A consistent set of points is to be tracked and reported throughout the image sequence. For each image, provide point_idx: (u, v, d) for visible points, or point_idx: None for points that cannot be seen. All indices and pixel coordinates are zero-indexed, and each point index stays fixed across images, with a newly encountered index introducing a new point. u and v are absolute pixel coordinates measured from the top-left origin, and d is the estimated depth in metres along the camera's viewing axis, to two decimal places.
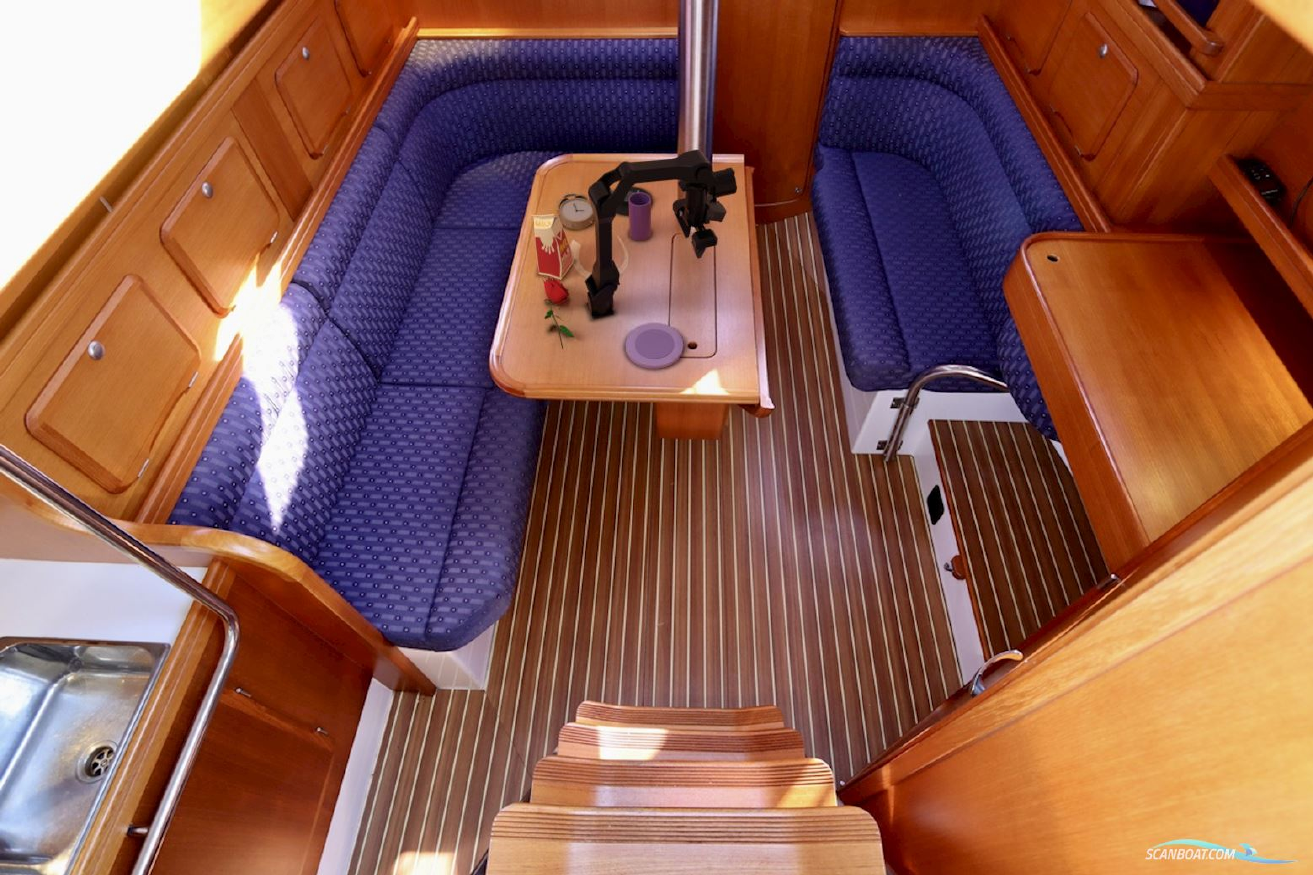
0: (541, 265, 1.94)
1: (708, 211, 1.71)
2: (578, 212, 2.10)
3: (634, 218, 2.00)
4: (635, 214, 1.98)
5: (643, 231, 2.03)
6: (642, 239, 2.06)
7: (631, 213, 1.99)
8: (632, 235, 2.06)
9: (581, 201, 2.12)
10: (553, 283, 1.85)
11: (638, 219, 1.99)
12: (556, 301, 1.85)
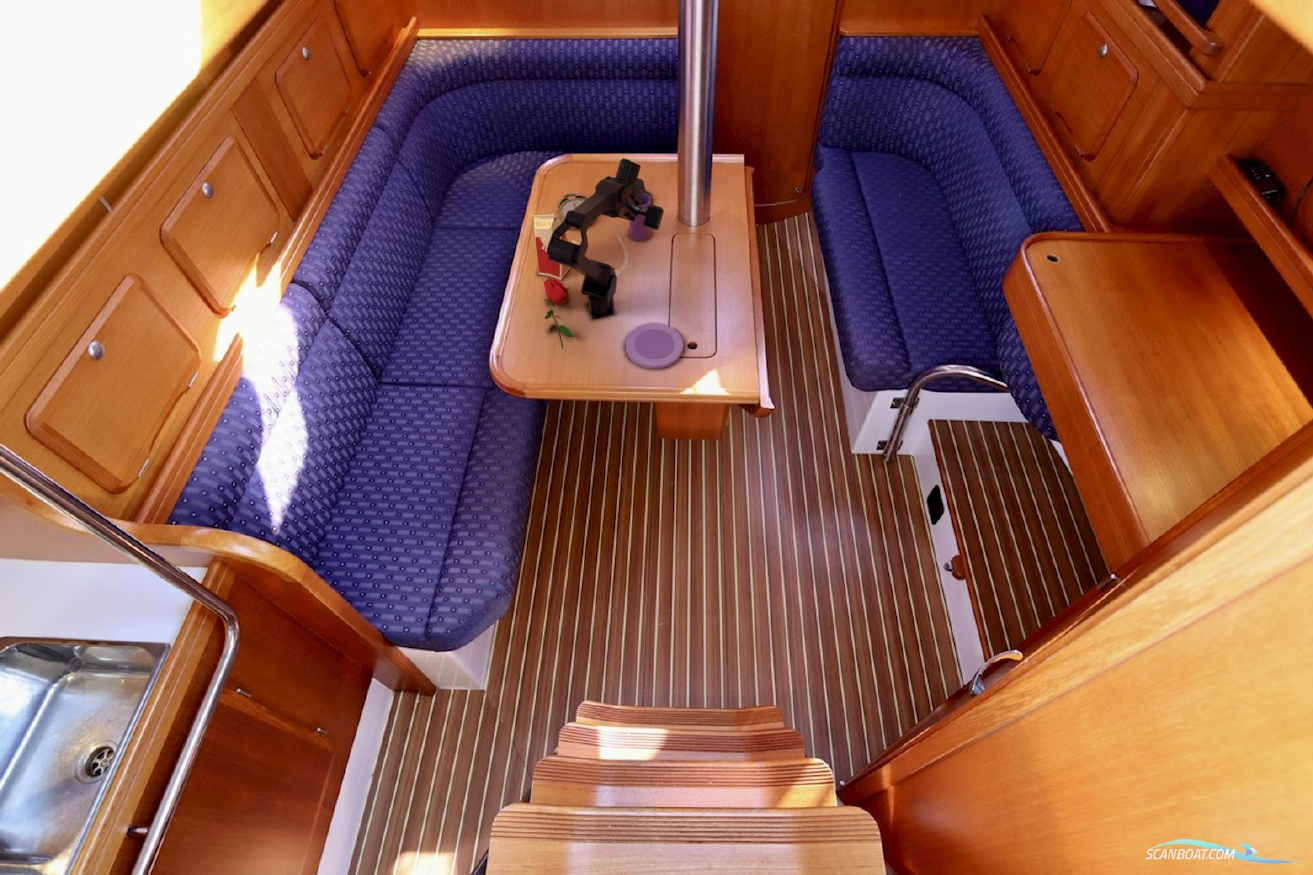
0: (541, 265, 1.94)
1: (636, 198, 1.79)
2: None
3: None
4: None
5: (643, 231, 2.03)
6: (642, 239, 2.06)
7: None
8: (632, 235, 2.06)
9: (581, 201, 2.12)
10: (553, 283, 1.85)
11: (638, 219, 1.99)
12: (556, 301, 1.85)
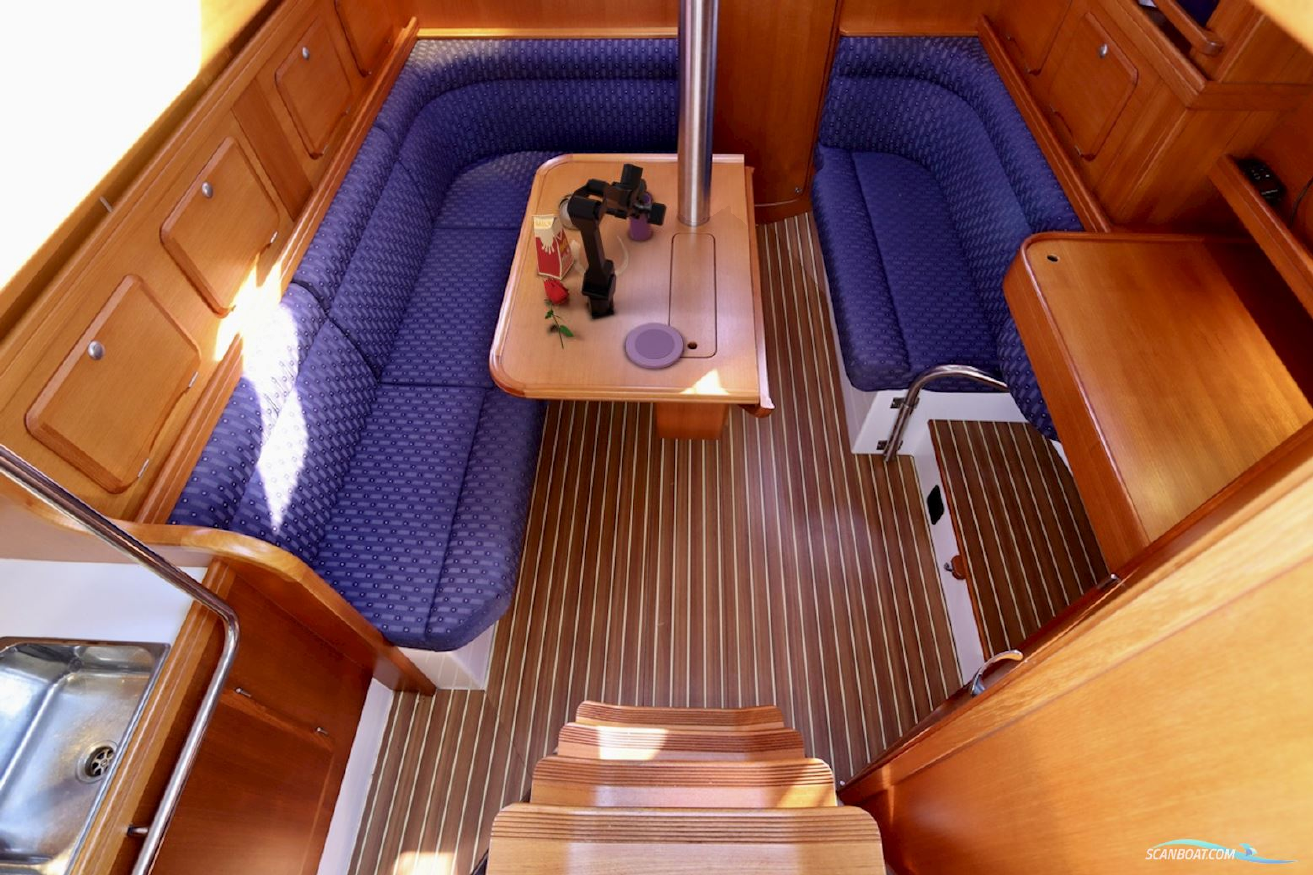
0: (541, 265, 1.94)
1: (640, 198, 1.90)
2: None
3: None
4: None
5: (643, 231, 2.03)
6: (642, 239, 2.06)
7: None
8: (632, 235, 2.06)
9: None
10: (553, 283, 1.85)
11: None
12: (556, 301, 1.85)
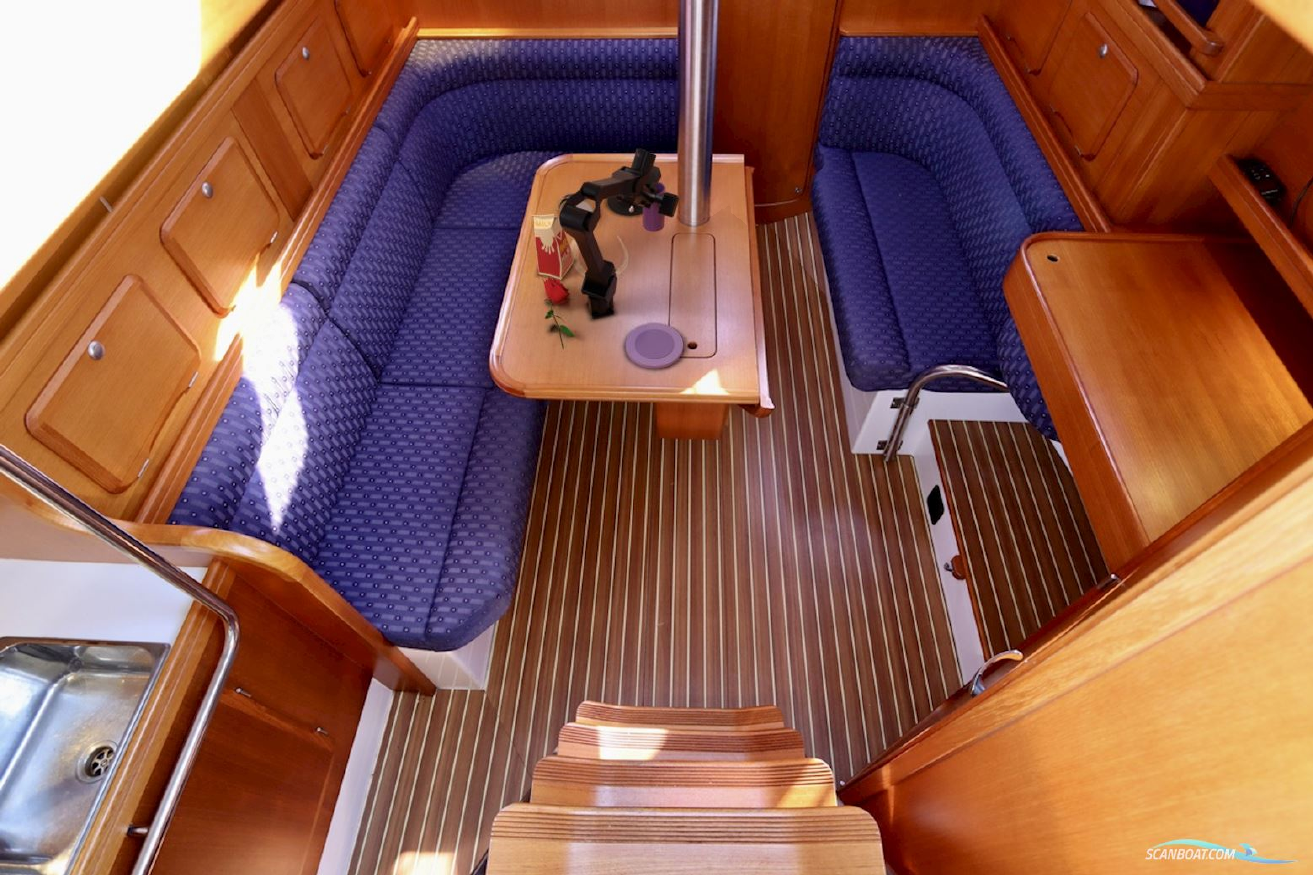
0: (541, 265, 1.94)
1: (652, 186, 1.83)
2: None
3: None
4: None
5: (655, 222, 1.97)
6: (654, 230, 2.00)
7: None
8: (644, 225, 2.00)
9: None
10: (553, 283, 1.85)
11: (650, 208, 1.93)
12: (556, 301, 1.85)
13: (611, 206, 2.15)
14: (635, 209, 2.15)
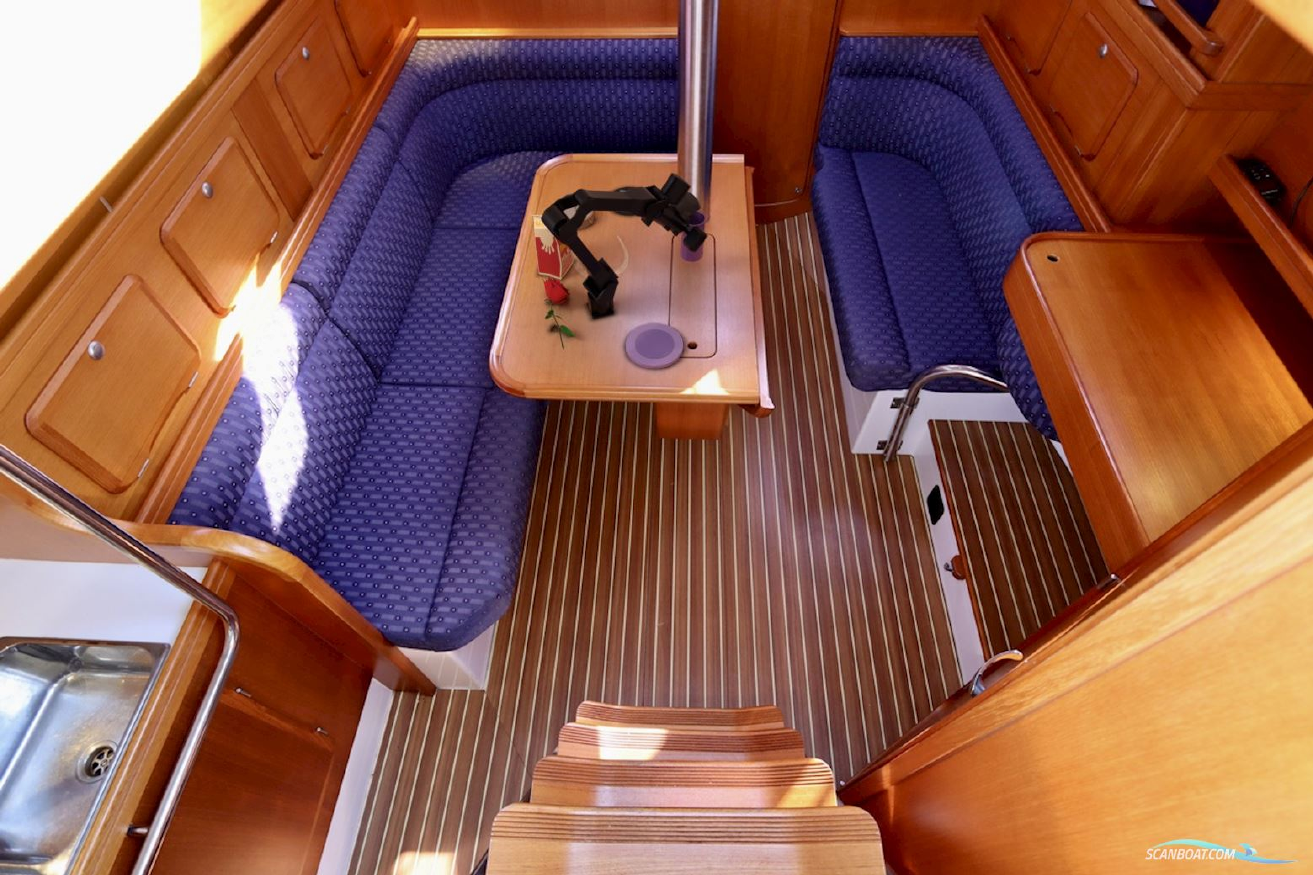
0: (541, 265, 1.94)
1: (681, 215, 1.76)
2: None
3: (682, 234, 1.86)
4: (683, 231, 1.85)
5: (688, 252, 1.90)
6: (686, 259, 1.92)
7: None
8: (680, 251, 1.93)
9: None
10: (553, 283, 1.85)
11: (684, 236, 1.86)
12: (556, 301, 1.85)
13: None
14: None
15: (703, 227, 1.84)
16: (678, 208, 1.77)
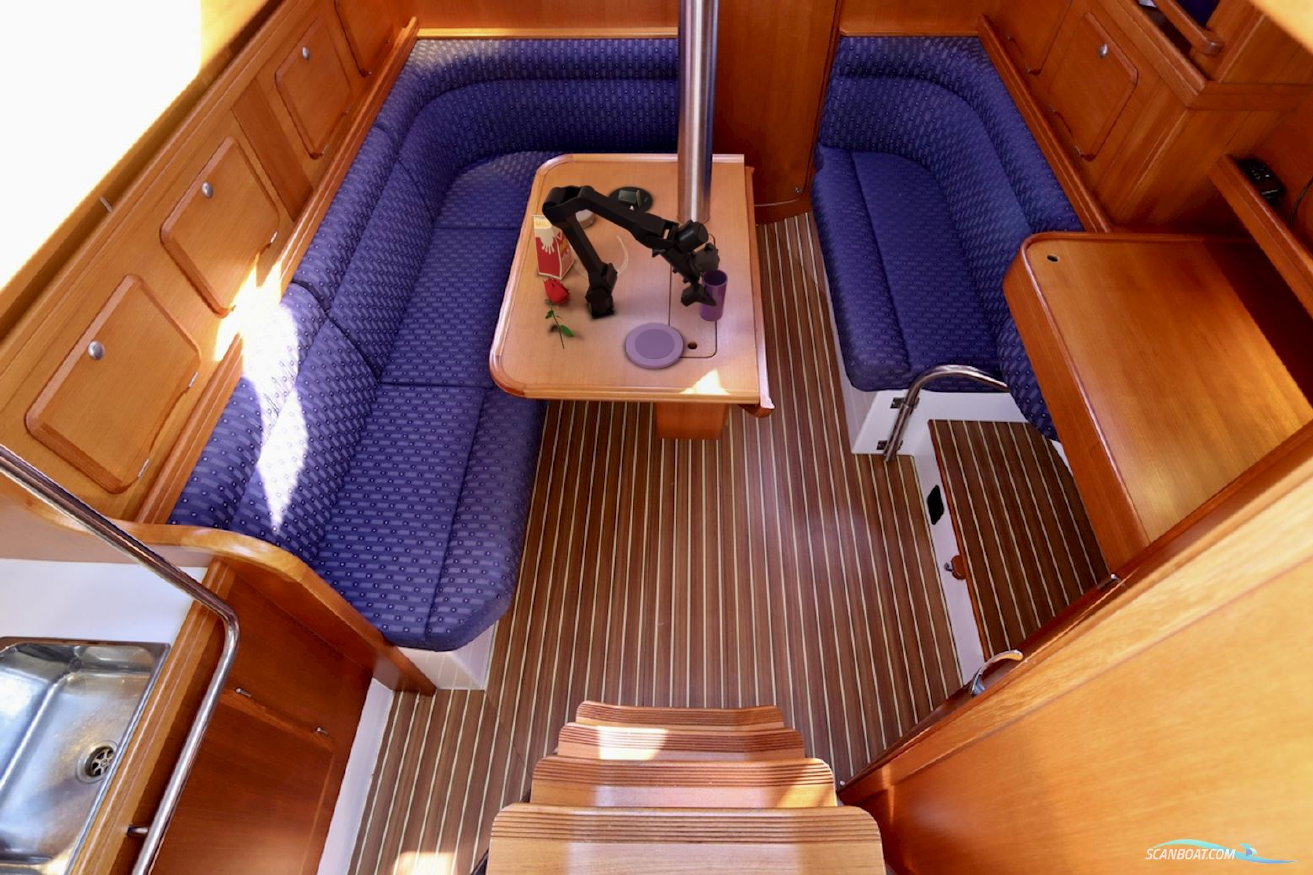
0: (541, 265, 1.94)
1: (691, 266, 1.65)
2: (578, 212, 2.10)
3: None
4: None
5: (700, 307, 1.77)
6: (699, 314, 1.80)
7: None
8: None
9: None
10: (553, 283, 1.85)
11: None
12: (556, 301, 1.85)
13: None
14: (635, 209, 2.15)
15: (716, 291, 1.69)
16: (695, 258, 1.66)
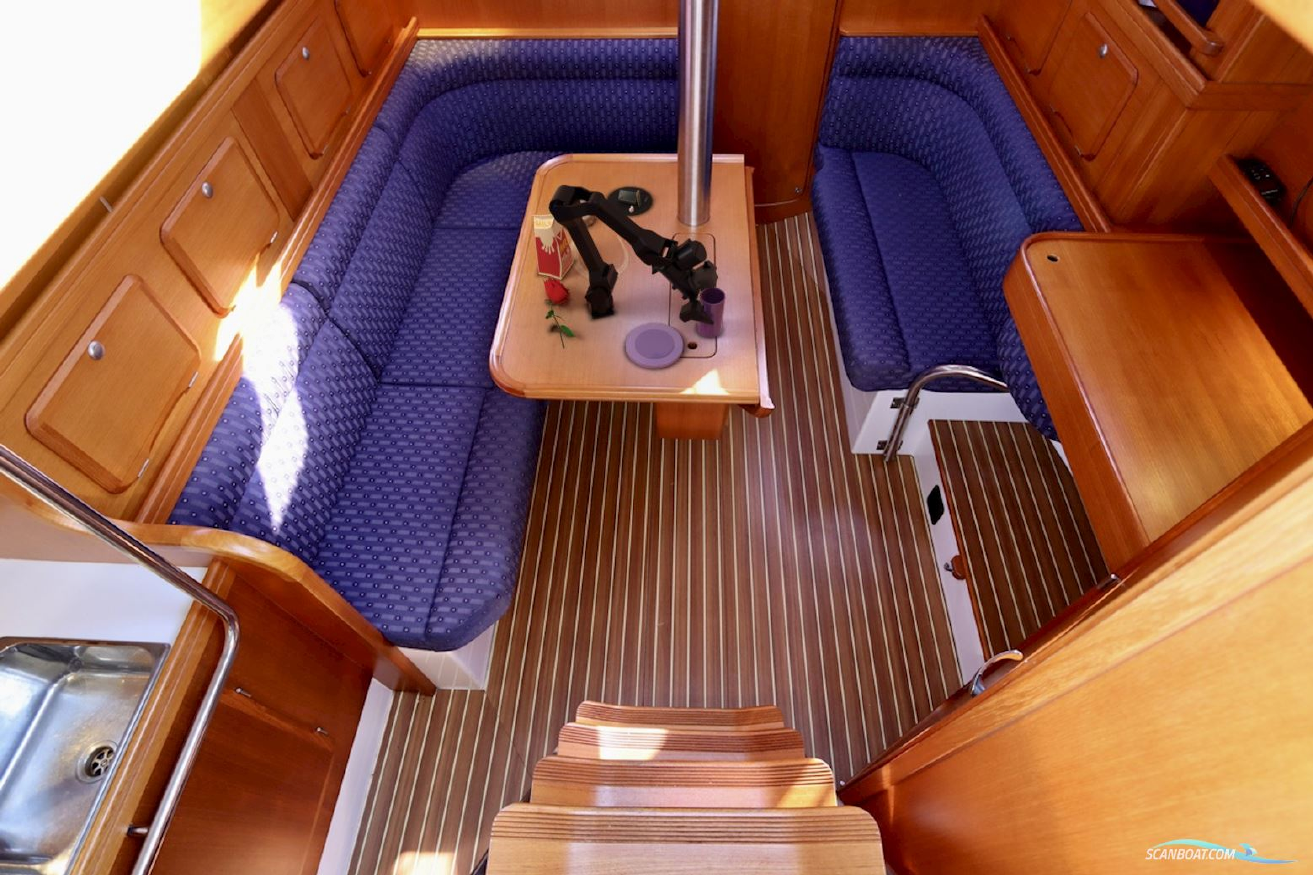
0: (541, 265, 1.94)
1: (690, 283, 1.69)
2: None
3: None
4: None
5: (699, 323, 1.81)
6: (698, 330, 1.84)
7: None
8: None
9: (581, 201, 2.12)
10: (553, 283, 1.85)
11: None
12: (557, 301, 1.85)
13: None
14: (635, 209, 2.15)
15: (714, 309, 1.74)
16: (694, 275, 1.70)
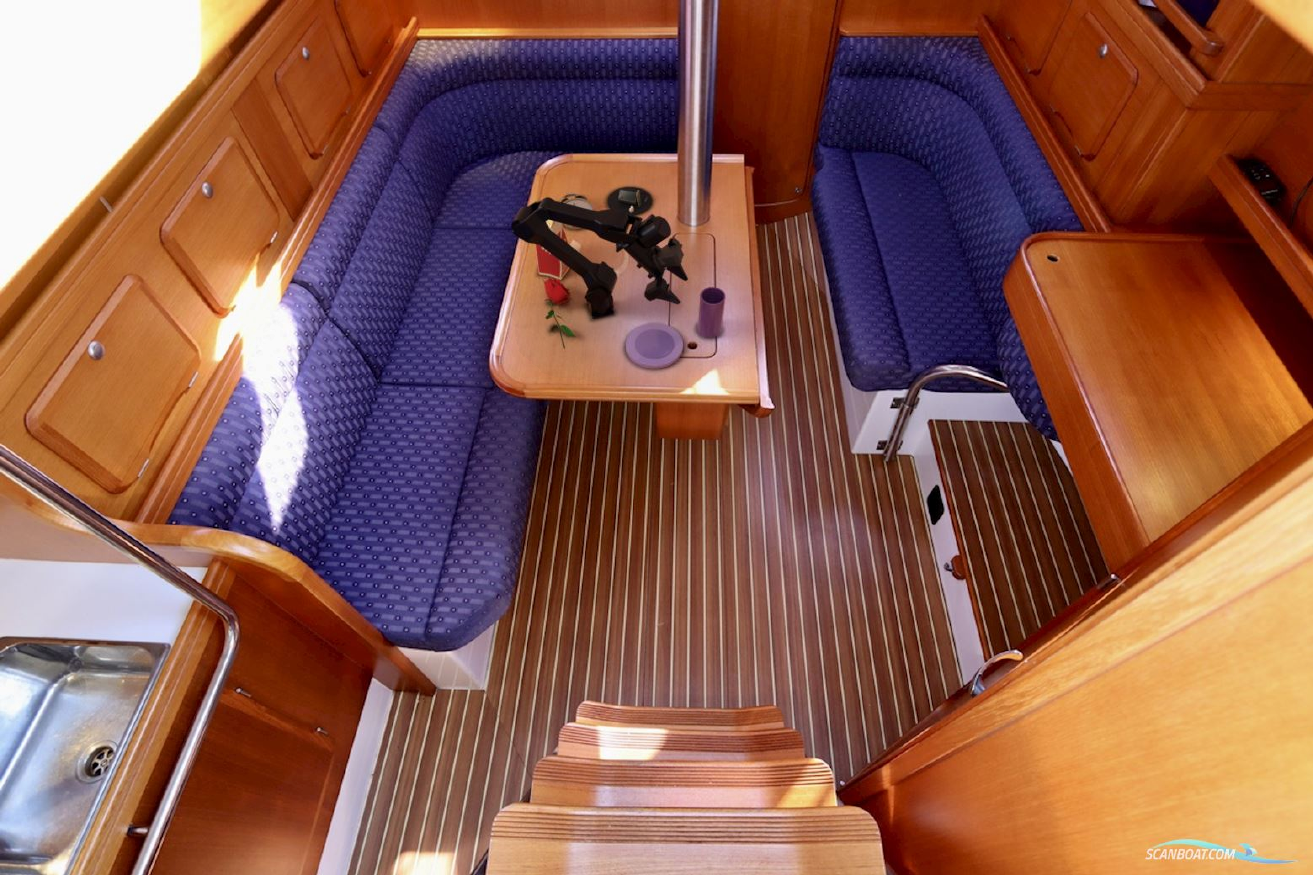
0: (541, 265, 1.94)
1: (654, 260, 1.66)
2: None
3: None
4: None
5: (699, 323, 1.81)
6: (698, 330, 1.84)
7: None
8: None
9: (581, 201, 2.12)
10: (554, 283, 1.85)
11: (699, 307, 1.78)
12: (557, 301, 1.85)
13: (611, 206, 2.15)
14: (635, 209, 2.15)
15: (714, 309, 1.74)
16: (659, 253, 1.67)
